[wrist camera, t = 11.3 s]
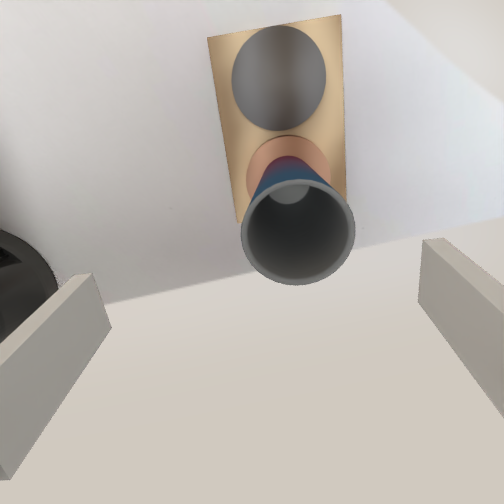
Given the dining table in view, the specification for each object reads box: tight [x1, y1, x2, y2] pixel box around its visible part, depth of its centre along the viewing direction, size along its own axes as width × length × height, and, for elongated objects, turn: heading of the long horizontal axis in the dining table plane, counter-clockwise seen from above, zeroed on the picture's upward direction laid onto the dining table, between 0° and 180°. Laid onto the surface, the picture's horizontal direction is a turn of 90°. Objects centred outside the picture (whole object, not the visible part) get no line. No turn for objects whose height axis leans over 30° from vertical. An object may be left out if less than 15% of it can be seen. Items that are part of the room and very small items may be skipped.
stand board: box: [207, 14, 346, 223], centre depth 34 cm, size 12×18×3 cm, turn 8°
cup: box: [241, 156, 355, 285], centre depth 27 cm, size 7×7×15 cm
